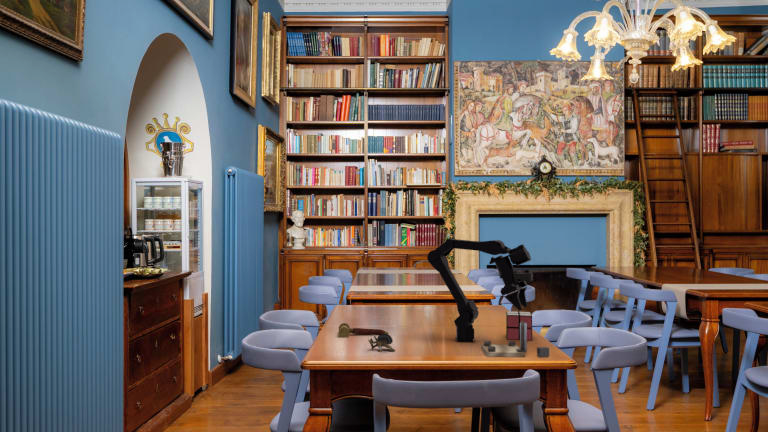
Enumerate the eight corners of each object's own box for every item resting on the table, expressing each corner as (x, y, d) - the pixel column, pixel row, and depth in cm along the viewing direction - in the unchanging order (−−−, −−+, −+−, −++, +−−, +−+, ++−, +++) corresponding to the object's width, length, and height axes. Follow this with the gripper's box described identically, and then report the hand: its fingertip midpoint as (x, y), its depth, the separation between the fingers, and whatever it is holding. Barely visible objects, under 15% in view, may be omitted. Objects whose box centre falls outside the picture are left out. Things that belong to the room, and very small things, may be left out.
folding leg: (526, 354, 195) (526, 326, 195) (519, 353, 195) (519, 325, 196) (526, 350, 201) (526, 322, 201) (520, 349, 202) (520, 322, 202)
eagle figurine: (368, 350, 197) (393, 346, 196) (367, 331, 201) (391, 327, 200) (373, 357, 203) (397, 353, 202) (372, 339, 207) (395, 335, 206)
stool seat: (487, 356, 192) (487, 322, 193) (481, 348, 205) (481, 316, 206) (526, 357, 192) (526, 322, 192) (518, 348, 205) (518, 316, 205)
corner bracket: (537, 355, 194) (537, 347, 194) (546, 355, 195) (546, 346, 195) (539, 357, 192) (539, 348, 192) (549, 356, 193) (549, 348, 193)
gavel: (388, 325, 236) (389, 329, 226) (387, 336, 236) (389, 341, 226) (339, 322, 235) (338, 326, 225) (338, 333, 235) (338, 338, 225)
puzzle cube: (532, 341, 219) (532, 315, 220) (506, 339, 221) (506, 314, 222) (530, 336, 229) (530, 312, 229) (506, 335, 231) (506, 311, 231)
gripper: (520, 264, 201) (538, 304, 198) (530, 261, 218) (547, 298, 215) (492, 275, 206) (510, 314, 202) (505, 271, 222) (521, 308, 219)
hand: (523, 308), depth 210 cm, fingers open, 9 cm apart
